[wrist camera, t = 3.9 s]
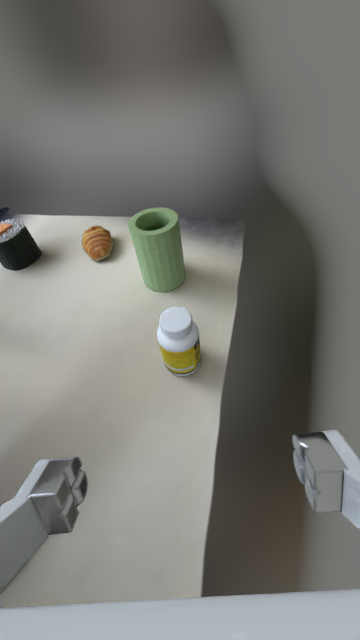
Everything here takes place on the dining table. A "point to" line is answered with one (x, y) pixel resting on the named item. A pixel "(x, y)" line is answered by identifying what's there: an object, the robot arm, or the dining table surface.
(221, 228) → the dining table surface
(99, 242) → the pastry
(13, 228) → the sushi
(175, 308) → the supplement bottle
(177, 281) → the green vase
